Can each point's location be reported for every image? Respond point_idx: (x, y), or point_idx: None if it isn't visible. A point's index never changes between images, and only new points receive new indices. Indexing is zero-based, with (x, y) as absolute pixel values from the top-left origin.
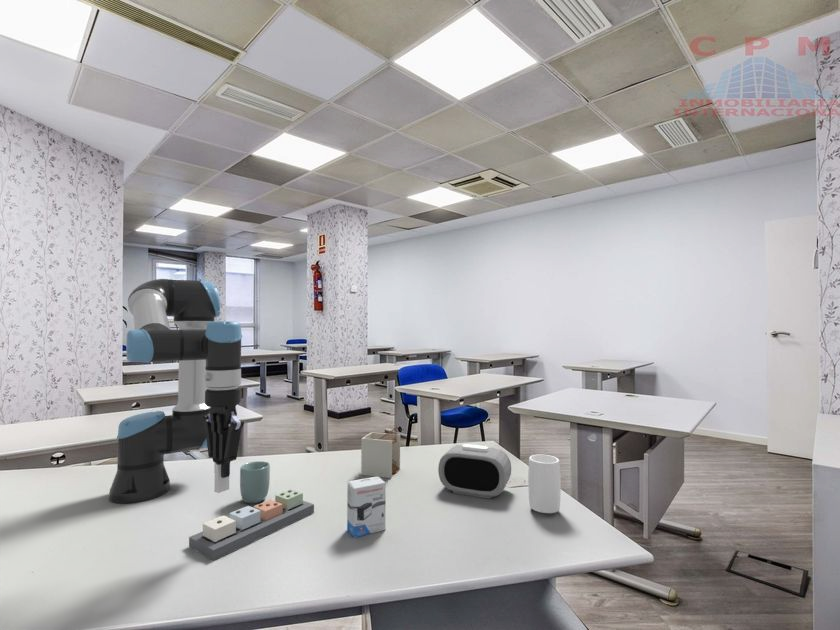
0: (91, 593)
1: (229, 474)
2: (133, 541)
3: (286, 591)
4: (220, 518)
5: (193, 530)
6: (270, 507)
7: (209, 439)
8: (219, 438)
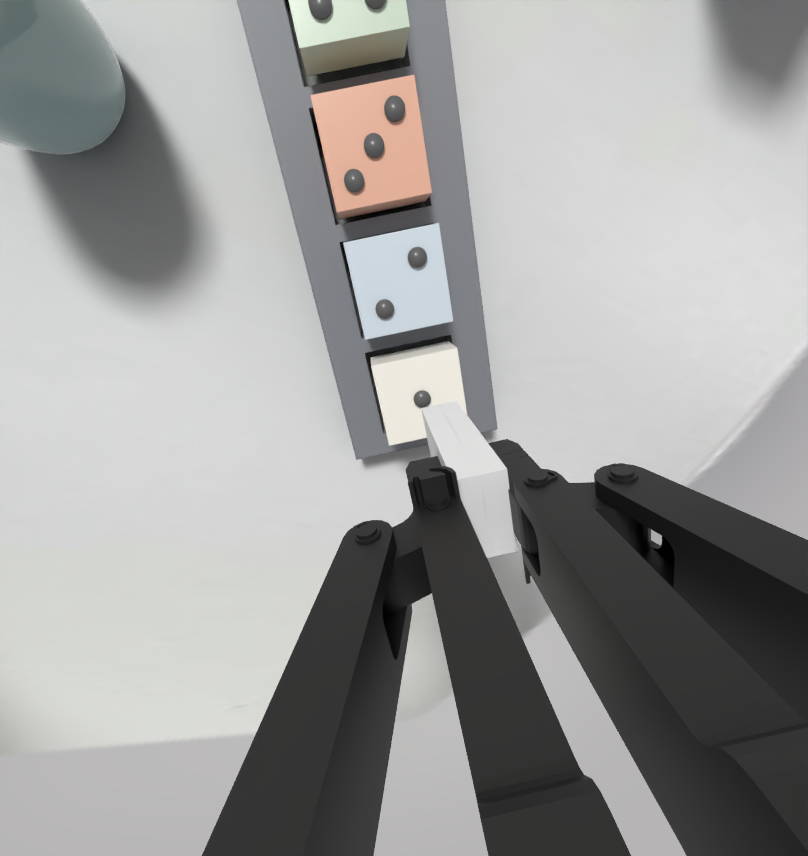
0: (423, 631)
1: (517, 445)
2: (210, 551)
3: (768, 332)
4: (391, 385)
5: (244, 408)
6: (408, 152)
7: (384, 771)
8: (647, 772)
